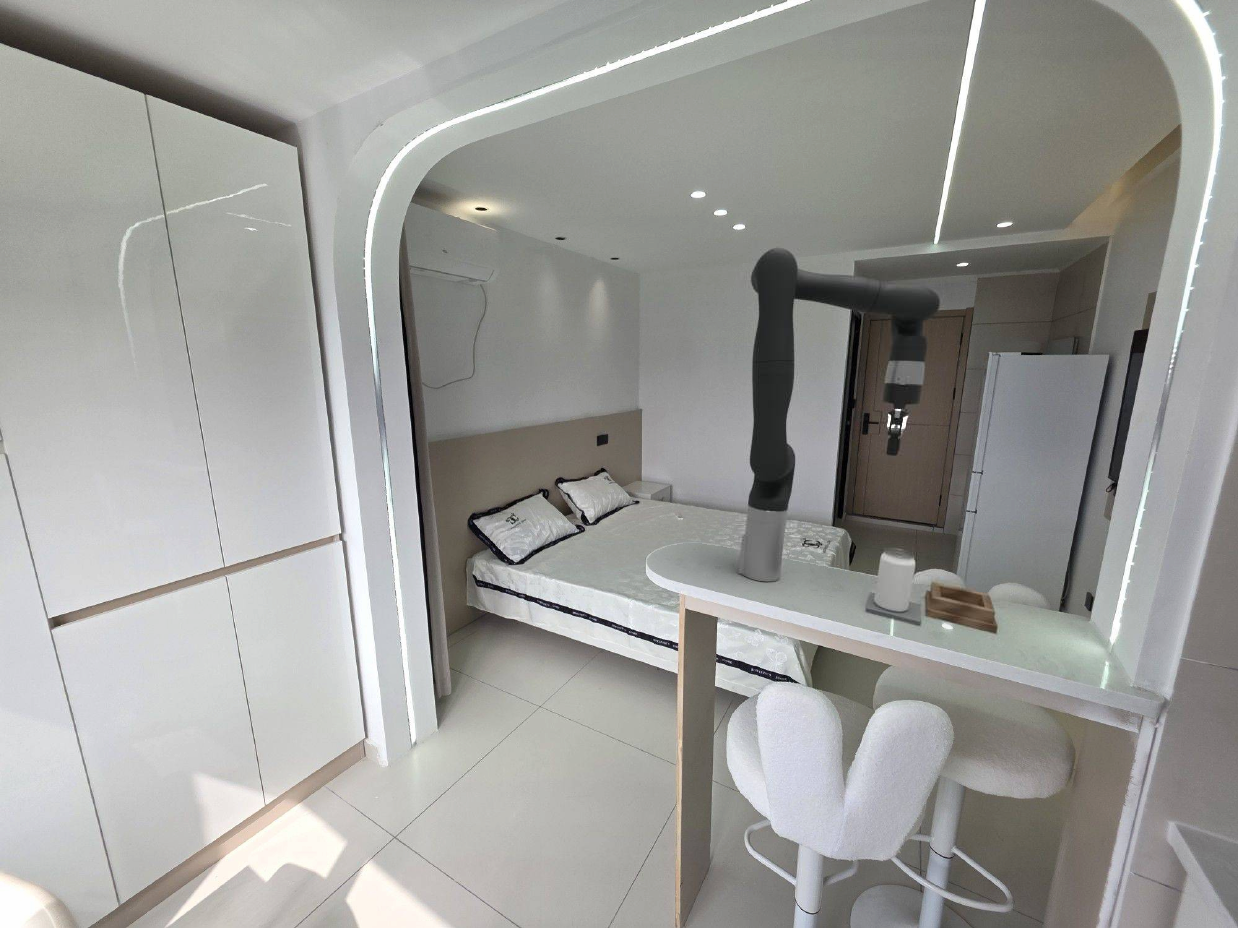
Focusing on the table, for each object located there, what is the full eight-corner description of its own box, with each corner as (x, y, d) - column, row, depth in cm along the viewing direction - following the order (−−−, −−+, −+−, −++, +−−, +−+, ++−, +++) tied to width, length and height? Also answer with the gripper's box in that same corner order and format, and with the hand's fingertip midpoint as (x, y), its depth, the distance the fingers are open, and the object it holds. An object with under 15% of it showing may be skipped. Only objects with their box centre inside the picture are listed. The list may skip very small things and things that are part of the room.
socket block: (925, 615, 104) (928, 598, 103) (925, 596, 114) (928, 579, 114) (996, 633, 98) (1000, 614, 97) (989, 611, 108) (992, 593, 108)
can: (888, 613, 102) (897, 558, 100) (866, 599, 109) (874, 547, 107) (915, 612, 104) (924, 557, 102) (892, 598, 110) (900, 547, 108)
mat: (865, 611, 105) (865, 607, 104) (869, 595, 113) (870, 592, 113) (920, 625, 100) (920, 621, 99) (920, 607, 108) (920, 604, 108)
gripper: (886, 382, 119) (876, 448, 122) (882, 380, 107) (871, 454, 110) (922, 384, 116) (911, 452, 118) (922, 382, 104) (910, 458, 106)
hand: (892, 453), depth 114 cm, fingers open, 8 cm apart
